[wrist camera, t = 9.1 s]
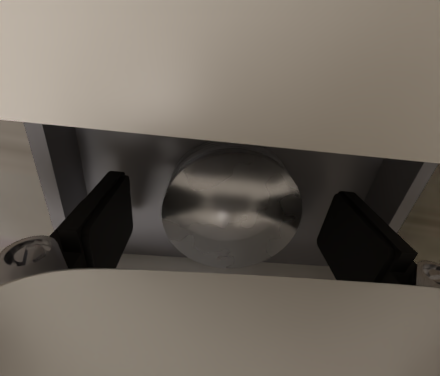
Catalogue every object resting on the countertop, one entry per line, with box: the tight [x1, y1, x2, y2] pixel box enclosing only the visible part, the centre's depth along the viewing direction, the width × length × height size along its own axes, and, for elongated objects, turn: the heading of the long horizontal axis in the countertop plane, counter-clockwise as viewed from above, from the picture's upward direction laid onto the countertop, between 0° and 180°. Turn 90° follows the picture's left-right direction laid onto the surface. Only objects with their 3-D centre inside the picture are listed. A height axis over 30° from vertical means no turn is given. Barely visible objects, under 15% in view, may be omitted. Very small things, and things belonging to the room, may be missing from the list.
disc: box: [161, 141, 302, 268], centre depth 11 cm, size 6×6×2 cm
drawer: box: [23, 122, 439, 280], centre depth 9 cm, size 17×16×6 cm
